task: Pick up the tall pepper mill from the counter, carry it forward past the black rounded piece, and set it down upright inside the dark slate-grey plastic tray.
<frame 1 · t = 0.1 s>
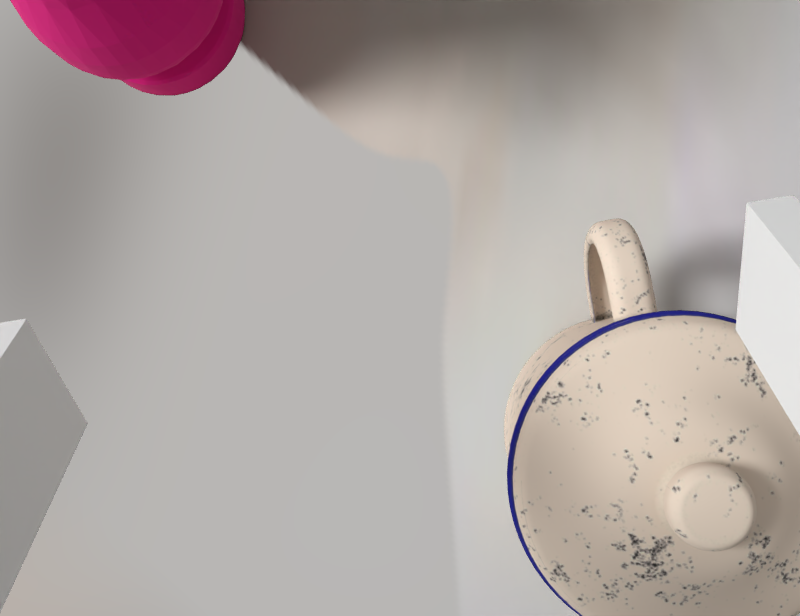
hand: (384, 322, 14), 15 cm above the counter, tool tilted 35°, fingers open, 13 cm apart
pepper mill: (172, 20, 31), on the counter
teacup with lid: (610, 390, 29), on the counter
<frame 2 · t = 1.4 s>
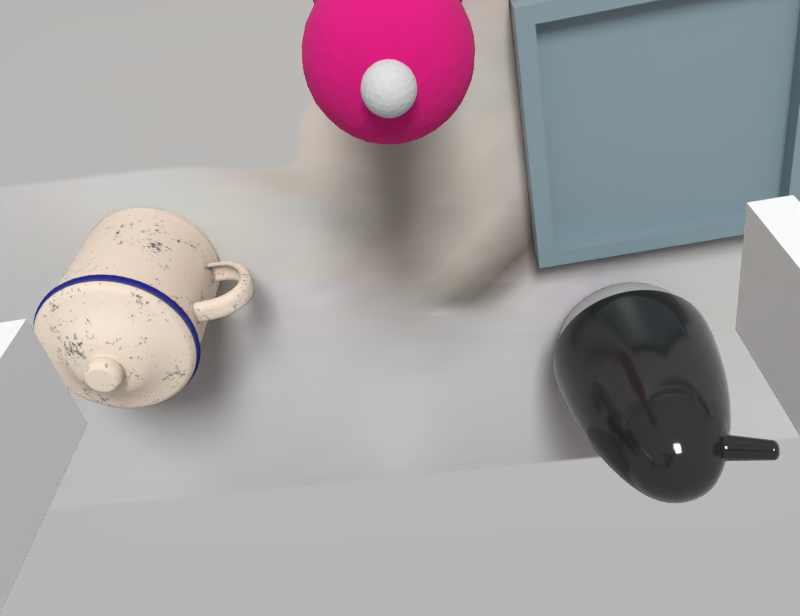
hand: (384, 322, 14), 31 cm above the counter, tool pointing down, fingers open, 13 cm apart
black rounded piece: (617, 319, 53), on the counter
tray: (660, 113, 44), on the counter
teacup with lid: (176, 257, 50), on the counter
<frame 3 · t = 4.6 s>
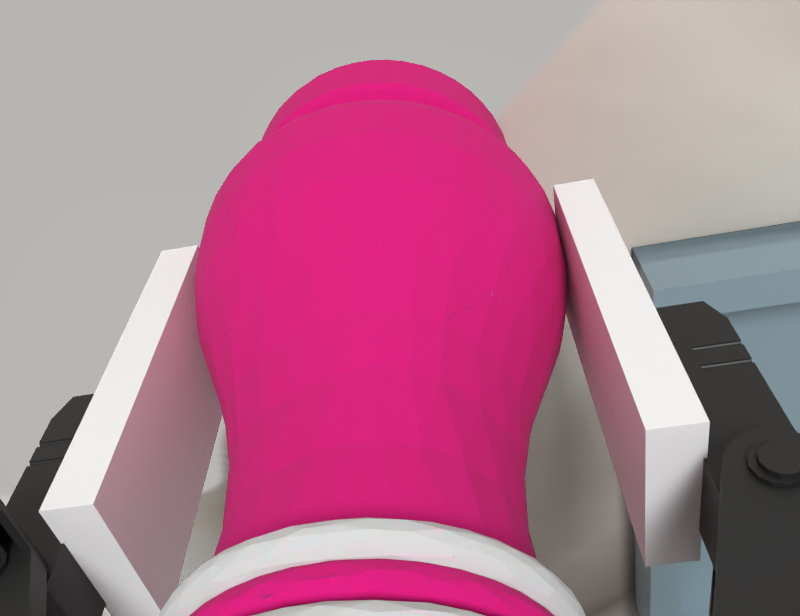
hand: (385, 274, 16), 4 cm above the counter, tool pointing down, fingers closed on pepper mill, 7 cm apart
pepper mill: (384, 180, 19), on the counter, touching gripper
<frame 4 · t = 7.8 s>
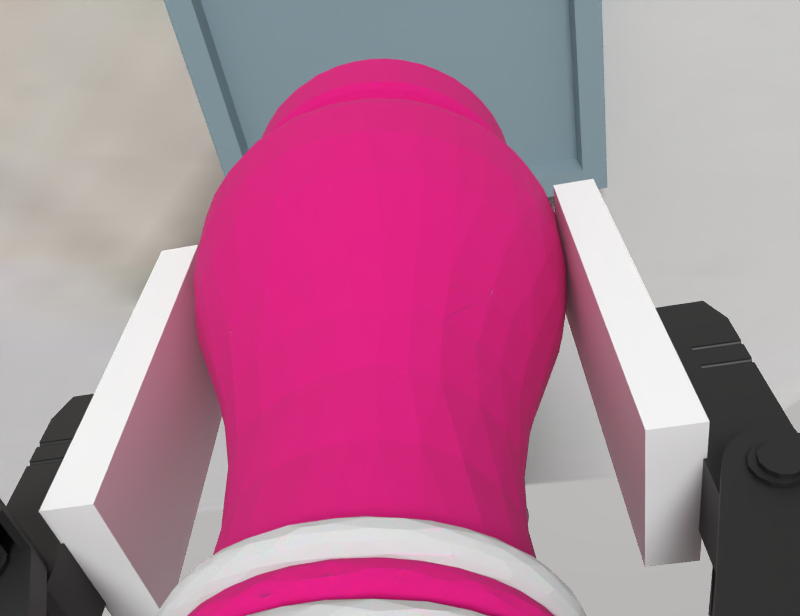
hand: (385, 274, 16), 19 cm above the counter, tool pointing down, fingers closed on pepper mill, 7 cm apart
tray: (389, 21, 31), on the counter
pepper mill: (384, 179, 19), point 14 cm above the counter, touching gripper
when the fingers open (6 cm above the counter, at t = 10.9 s): pepper mill stays where it is, resting on tray.
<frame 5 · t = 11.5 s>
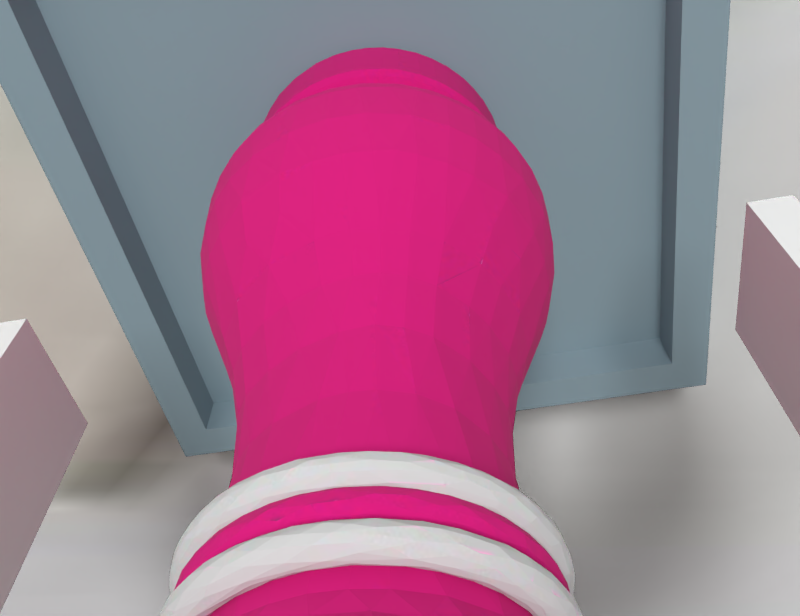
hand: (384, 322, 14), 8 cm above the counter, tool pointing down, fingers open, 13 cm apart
tray: (387, 154, 20), on the counter
pepper mill: (380, 164, 20), point 1 cm above the counter, touching tray
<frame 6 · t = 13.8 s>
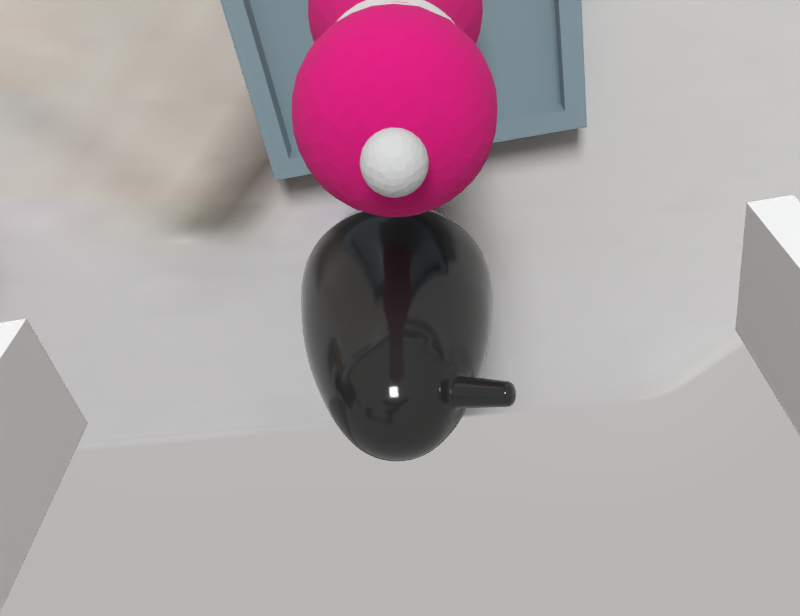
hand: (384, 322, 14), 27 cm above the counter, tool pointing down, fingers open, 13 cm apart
black rounded piece: (398, 251, 45), on the counter
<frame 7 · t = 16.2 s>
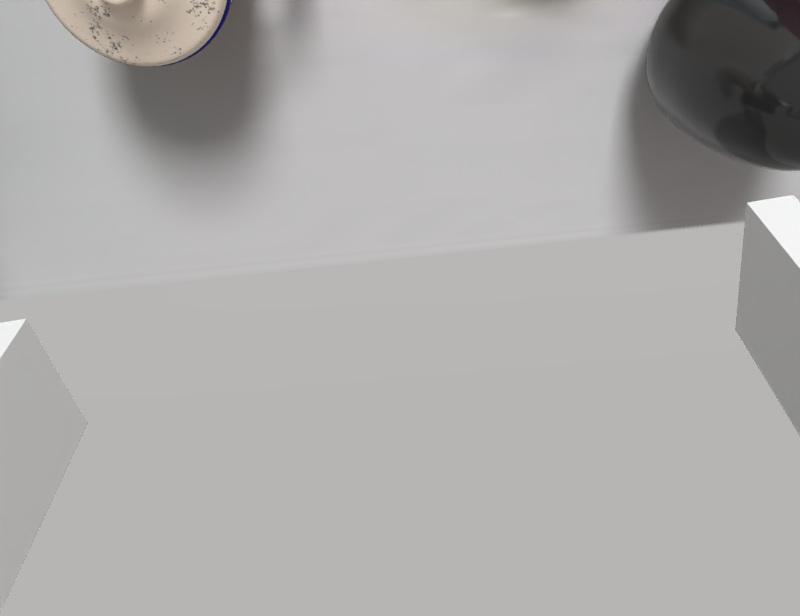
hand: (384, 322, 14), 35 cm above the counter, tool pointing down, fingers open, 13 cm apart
black rounded piece: (717, 27, 45), on the counter
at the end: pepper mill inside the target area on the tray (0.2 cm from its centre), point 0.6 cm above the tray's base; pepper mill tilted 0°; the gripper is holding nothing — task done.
